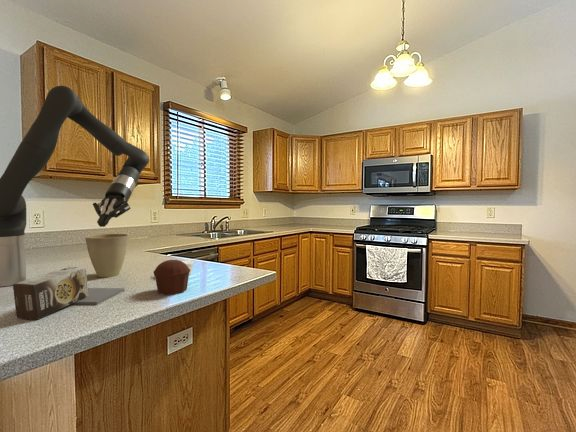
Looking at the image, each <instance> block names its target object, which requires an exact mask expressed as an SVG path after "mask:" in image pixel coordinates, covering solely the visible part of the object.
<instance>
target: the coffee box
mask: <svg viewBox="0 0 576 432" xmlns="http://www.w3.org/2000/svg"><path fill="white" fill-rule="evenodd" d="M88 288H89V287H88V277H87V267H86V266H74V265H72V266H70V265H69V266H65V267H63V268H59V269H57V270H53V271H50V272H47V273H44V274H41V275H38V276H35V277H31V278H28V279H26V280H25V281H22V282H18V283H15V284H13V285H12V290H13V298H14V305H15V315H16V319H22V318H23V319H24V320H31V321H32V320H33V321H38V320H39V319H42V318H44V317H47V316H49V315H51V314H53V313H55V312H57V311H59V310H61V309H64V308H65V307H67V306H70V304H72V303H74V302H76V301H78V300H80V299H82V298H85V297H87V296H88Z"/></svg>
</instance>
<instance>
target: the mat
mask: <svg viewBox="0 0 576 432" xmlns="http://www.w3.org/2000/svg"><path fill="white" fill-rule="evenodd" d="M123 292H125V287H122V288H121V287H120V288H119V287H118V288H117V287H88V296H87V297H85V298H82V299H80V300H78V301H76V302H74V303H72V304H70V305H72V306H73V305H74V306H75V305H76V306H77V305H80V306H81V305H82V306H87V305H88V306H89V305H90V306H91V305H92V306H95V305H97V306H98V305H99V304H101V303H103V302H105V301H107V300H109V299H111V298H113V297H115V296H116V295H117V296H118V295H119V294H120V293H123ZM70 305H69V306H70Z"/></svg>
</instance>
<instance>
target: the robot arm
mask: <svg viewBox="0 0 576 432" xmlns="http://www.w3.org/2000/svg"><path fill="white" fill-rule="evenodd" d="M42 104H43V105H42V106H41V109H40V111H39V114H38V115H37V117H36V118H35V120H34V121H33V123H32V124H31V126H30V128H28V130H27V132H26V134H25V136H24V137H23V139H22V140H21V141H20V143H19V145H18V147H17V148H16V151H15V153H14V154H13V156H12V158H11V159H10V161H9V163H8V164H7V167H6V169H5V170H4V171H3V173H2V175H1V176H0V287H10V286H13V284H15V283H18V282H22V281H25V280H27V263H26V260H27V259H26V238H25V237H26V236H25V230H26V228H27V202H26V199H25V198H24V196H23V194H24V191H25V189H26V188H27V186H28V185H29V183H30V182H31V181H32V180H33V179H34V178H35V177H36V176H37V175H38V174H39V173H40V172H41V171H42V170H43V169H44V168H45V167H46V166H47V164H48V162H49V161H50V160H51V157H52V155H53V154H54V152H55V149H56V147H57V143H58V140H59V135H60V131H61V128H62V126H63V124H64V123H65V121H66V120H67V118H68V119H69V120H71V121H72V122H74V123H76V124H77V125H79V126H81V127H82V128H83V129H84V130H85V131H86V132H88V133H89V134H90V135H91V136H92V137H93V138H94V139H95V140H96V141H97V142H98V143H99V144H101V145H102V146H103V147H105V148H106V149H107V150H108V151H109V152H110V153H111V154H113V155H114V156H116V157H120V156H122V155H125V156H127V158H126V160H125V161H124V163H123V166H122V167H121V169H120V170H119V172H118V174H117V175H116V177H115V178H114V179H113V180H112V182H111V183H110V185H109V187H108V188H107V190H106V192H105V195H104V198H103V199H101V200H100V202H99V203H97V202H93V203H92V206H93V208H94V210H95V213H96V214H97V216H98V219H97V220H96V223H97V225H98V226H99V227H100V228H101V227H102V228H103V227H104V228H105V227H106V226H107V225H108V224H109V222H110V220H111V219H113V218H116V219H117V218H119V217H120V216H122V215H123V214H125V213H127V212H128V211H129V210H131V206H130V204H129V203H128V202H129V201H130V198H131V196H132V194H133V192H134V191H135V188H136V185H137V184H138V181H139V180H140V175H141V173H142V172H143V171H144V169H145V168H146V167H147V165H148V164H149V163H150V158H149V156H148V153H147V152H146V151H144V150H143V149H142V148H140V147H137V146H136V145H134V144H132V143H129V142H127V141H126V140H125V139H124V138H123V137H122V136H120V135H119V134H118V133H117V132H116V131H114V130H113V129H112V128H111V127H109V126H108V125H107V124H105V123H103V122H102V121H101V120H100V119H98V118H97V117H96V116H95V115H94V114H93V113H92V112H90V110H89V109H88V108H87V107H86V106H85V105H84V103H83V102H82V101H81V99H80V97H79V95H78V94H76V92H75V91H74V90H73V89H72V88H70V87H69V86H65V85H57V86H54V87H52V88H51V89H50V90H49V91H48V93H47V95H46V98H45V99H44V102H43V103H42Z"/></svg>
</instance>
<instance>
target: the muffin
mask: <svg viewBox="0 0 576 432" xmlns="http://www.w3.org/2000/svg"><path fill="white" fill-rule="evenodd" d="M179 260H180V259H168V260H164V261H162V262H160V263H159V264H158V265H156V268H155V269H154V270H153V275H154V278H155V283H156V288H157V289H156V290H157V293H158V294H159V295H165V296H171V295H178V294H182V293H184V292H186V291H187V290H188V283H189V277H190V275H189V272H190V269H189V268H188V266H187V265H186V264H185V263H184V262H182V261H179Z"/></svg>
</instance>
